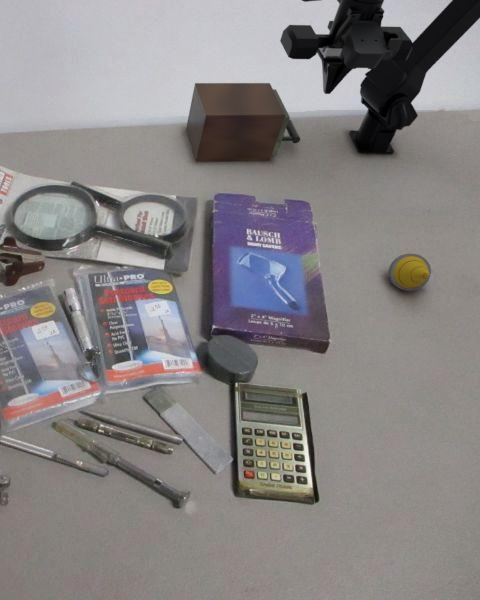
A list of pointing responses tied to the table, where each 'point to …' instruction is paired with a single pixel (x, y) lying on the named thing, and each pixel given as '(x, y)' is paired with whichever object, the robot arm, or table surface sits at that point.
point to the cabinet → (234, 122)
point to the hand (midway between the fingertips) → (326, 92)
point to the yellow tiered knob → (409, 272)
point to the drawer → (285, 128)
